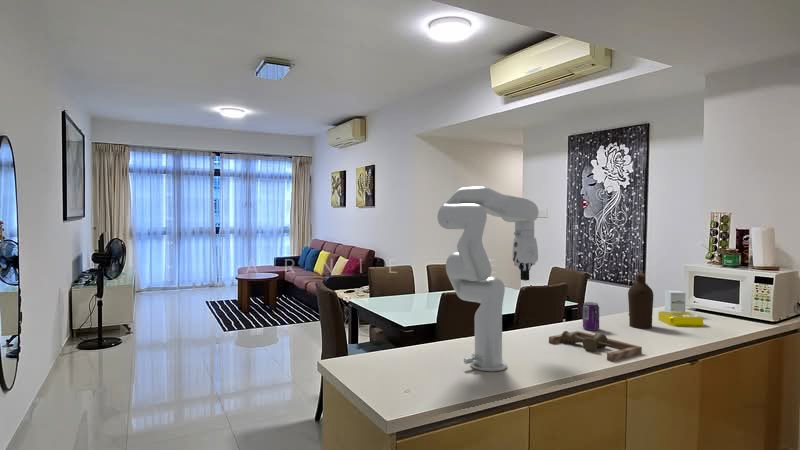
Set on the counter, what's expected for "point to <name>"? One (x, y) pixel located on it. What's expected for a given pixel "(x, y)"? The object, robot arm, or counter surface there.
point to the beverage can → (591, 316)
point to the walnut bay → (624, 351)
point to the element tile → (680, 319)
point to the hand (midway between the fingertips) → (524, 280)
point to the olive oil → (640, 304)
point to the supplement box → (674, 301)
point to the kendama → (586, 340)
